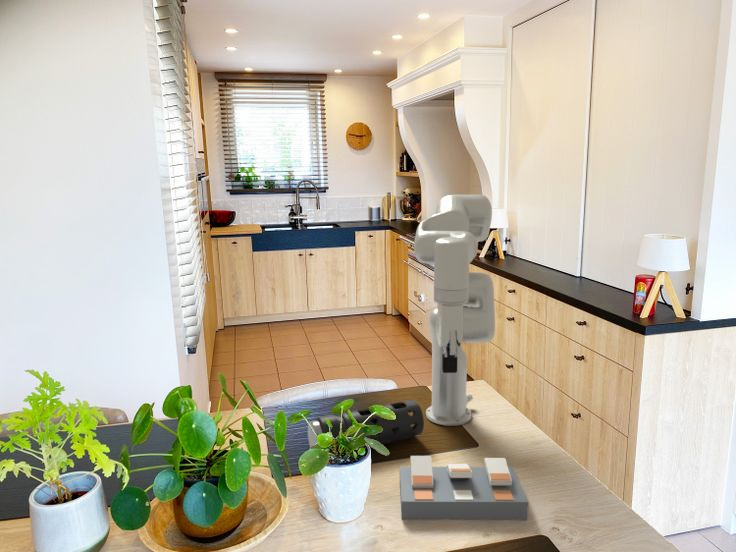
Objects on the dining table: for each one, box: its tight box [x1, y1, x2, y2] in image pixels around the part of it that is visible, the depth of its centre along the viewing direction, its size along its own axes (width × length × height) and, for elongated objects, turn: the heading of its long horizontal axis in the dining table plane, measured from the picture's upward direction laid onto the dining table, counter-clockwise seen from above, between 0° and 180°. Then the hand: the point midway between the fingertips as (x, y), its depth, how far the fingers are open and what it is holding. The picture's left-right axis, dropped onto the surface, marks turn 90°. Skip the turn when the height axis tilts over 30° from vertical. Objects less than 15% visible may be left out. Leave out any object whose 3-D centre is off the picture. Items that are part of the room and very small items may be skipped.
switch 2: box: [446, 463, 472, 479], centre depth 119 cm, size 7×4×3 cm, turn 179°
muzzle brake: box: [307, 399, 425, 449], centre depth 140 cm, size 10×28×10 cm, turn 113°
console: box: [399, 466, 529, 521], centre depth 118 cm, size 13×25×4 cm, turn 89°
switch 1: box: [410, 455, 433, 488], centre depth 119 cm, size 7×4×3 cm, turn 178°
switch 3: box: [483, 457, 512, 485], centre depth 119 cm, size 7×4×3 cm, turn 178°
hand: (449, 371), depth 128 cm, fingers closed
